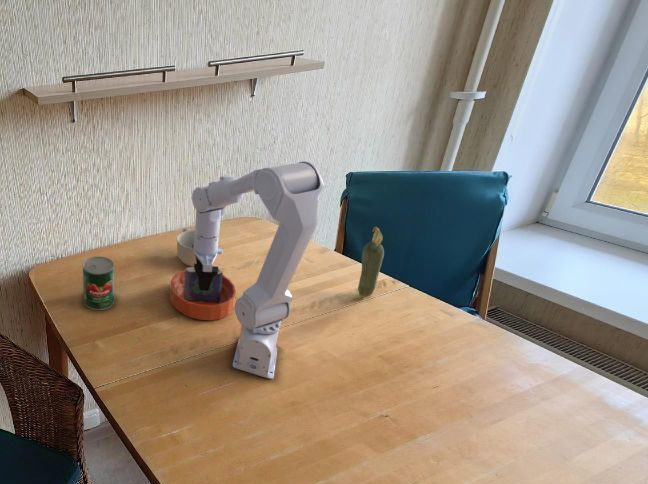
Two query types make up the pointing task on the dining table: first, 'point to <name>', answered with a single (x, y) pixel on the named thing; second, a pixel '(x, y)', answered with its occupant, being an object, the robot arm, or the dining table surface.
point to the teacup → (186, 247)
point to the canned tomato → (98, 283)
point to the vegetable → (371, 264)
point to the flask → (193, 290)
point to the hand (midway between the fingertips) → (202, 280)
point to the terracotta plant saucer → (202, 308)
